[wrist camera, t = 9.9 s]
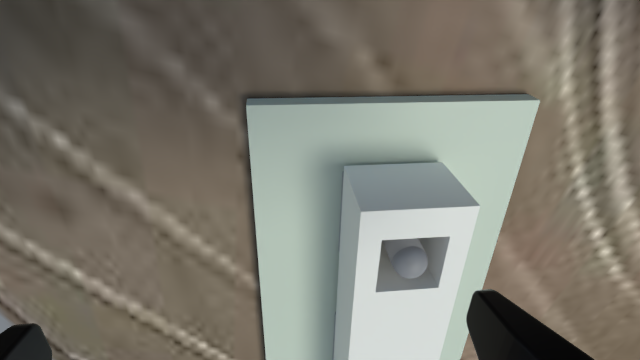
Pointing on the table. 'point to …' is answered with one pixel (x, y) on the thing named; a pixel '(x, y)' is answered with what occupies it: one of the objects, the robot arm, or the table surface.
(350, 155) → the post board
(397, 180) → the power strip bar
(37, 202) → the table surface
